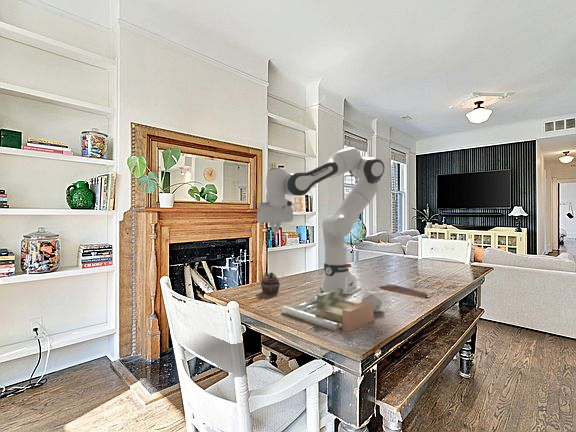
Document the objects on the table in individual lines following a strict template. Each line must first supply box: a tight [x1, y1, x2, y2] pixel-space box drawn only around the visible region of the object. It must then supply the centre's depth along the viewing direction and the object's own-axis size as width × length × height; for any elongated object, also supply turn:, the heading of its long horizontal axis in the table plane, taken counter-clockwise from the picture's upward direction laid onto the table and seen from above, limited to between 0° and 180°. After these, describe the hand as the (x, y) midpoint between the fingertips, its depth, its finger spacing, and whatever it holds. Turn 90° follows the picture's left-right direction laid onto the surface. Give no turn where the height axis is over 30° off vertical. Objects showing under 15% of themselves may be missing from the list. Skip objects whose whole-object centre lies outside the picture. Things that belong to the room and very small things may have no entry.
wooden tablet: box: [378, 283, 428, 298], centre depth 161 cm, size 26×2×10 cm
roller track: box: [281, 295, 342, 332], centre depth 126 cm, size 22×27×2 cm
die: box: [361, 290, 383, 313], centre depth 131 cm, size 8×9×10 cm
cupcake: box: [260, 272, 281, 296], centre depth 158 cm, size 10×10×10 cm
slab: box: [315, 288, 358, 323], centre depth 120 cm, size 16×12×7 cm
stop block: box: [341, 300, 374, 333], centre depth 115 cm, size 16×3×7 cm, turn 135°
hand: (275, 232), depth 147 cm, fingers closed
